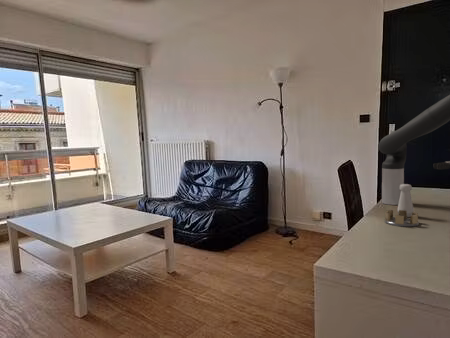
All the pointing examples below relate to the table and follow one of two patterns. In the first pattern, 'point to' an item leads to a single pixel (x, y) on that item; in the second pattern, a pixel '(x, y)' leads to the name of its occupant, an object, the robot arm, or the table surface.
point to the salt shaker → (405, 199)
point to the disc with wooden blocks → (401, 219)
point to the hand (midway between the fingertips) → (435, 166)
